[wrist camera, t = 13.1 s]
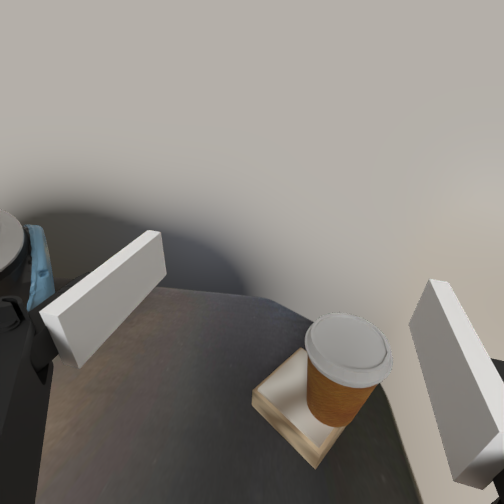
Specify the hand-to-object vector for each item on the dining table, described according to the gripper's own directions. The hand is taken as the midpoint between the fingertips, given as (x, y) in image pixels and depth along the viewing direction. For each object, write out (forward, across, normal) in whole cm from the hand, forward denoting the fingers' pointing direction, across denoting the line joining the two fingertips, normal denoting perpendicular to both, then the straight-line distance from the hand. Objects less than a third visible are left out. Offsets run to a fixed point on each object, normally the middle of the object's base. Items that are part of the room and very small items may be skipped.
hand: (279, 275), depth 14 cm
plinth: (+14, +4, -32) cm, 35 cm away
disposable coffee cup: (+12, +7, -28) cm, 31 cm away
